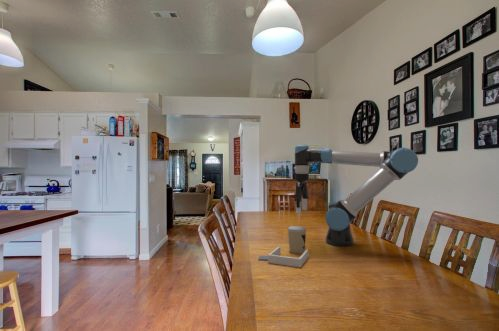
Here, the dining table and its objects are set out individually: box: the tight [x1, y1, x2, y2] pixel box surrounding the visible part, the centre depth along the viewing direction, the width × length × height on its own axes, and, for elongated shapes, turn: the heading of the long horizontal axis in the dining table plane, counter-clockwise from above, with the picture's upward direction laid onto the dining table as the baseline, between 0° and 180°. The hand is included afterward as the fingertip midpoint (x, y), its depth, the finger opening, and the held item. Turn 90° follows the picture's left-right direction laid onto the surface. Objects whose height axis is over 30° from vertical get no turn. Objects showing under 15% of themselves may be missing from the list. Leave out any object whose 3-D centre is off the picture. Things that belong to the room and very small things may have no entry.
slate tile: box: [258, 255, 268, 262], centre depth 129 cm, size 5×5×1 cm
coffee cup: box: [287, 225, 307, 254], centre depth 141 cm, size 9×9×12 cm
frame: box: [267, 246, 309, 268], centre depth 127 cm, size 15×15×4 cm
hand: (301, 212), depth 151 cm, fingers open, 13 cm apart
